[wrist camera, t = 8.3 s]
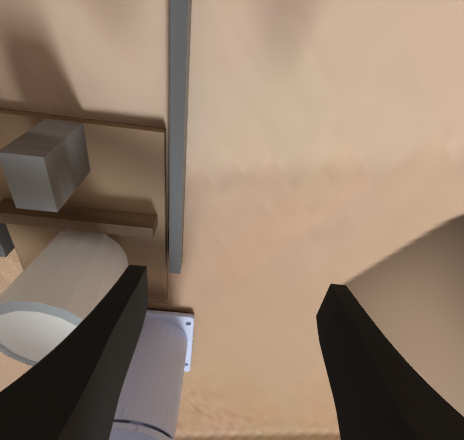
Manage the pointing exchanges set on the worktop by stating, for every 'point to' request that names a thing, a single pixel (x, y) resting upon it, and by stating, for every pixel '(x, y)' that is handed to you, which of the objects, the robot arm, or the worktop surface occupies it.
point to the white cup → (57, 292)
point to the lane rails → (179, 85)
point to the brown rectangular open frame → (85, 186)
